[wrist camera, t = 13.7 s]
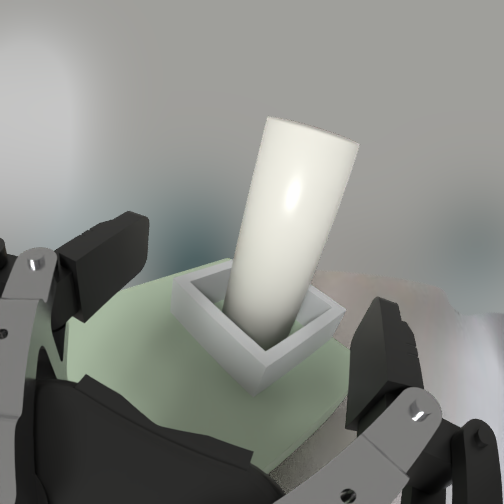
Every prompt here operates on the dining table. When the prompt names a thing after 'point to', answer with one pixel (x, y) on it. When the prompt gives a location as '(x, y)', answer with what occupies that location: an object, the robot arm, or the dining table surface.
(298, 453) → the dining table surface
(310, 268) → the spout tube
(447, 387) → the dining table surface
